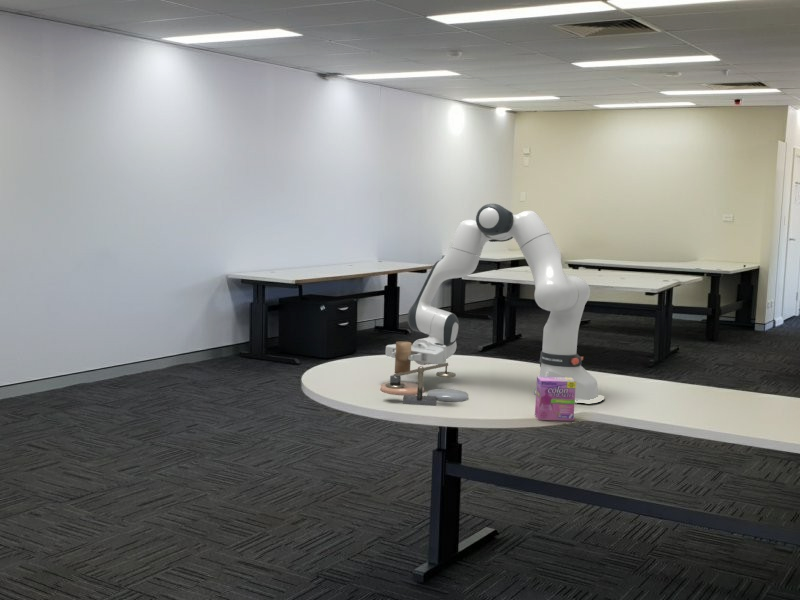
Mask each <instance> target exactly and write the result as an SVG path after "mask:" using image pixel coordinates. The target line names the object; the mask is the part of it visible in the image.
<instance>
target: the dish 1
mask: <svg viewBox="0 0 800 600" xmlns="http://www.w3.org/2000/svg"><path fill="white" fill-rule="evenodd" d="M386 383H387V382H385V383H383V384H380V391H381V392H383V393H385V394H389V395H395V396H396V395H398V396H404V395H417V388H418V383H413V382H407V381H406V382H405V381H400V383H402V384H405V388H401V389H392V388H387V387H385V384H386ZM424 389H425V388H424V386H423V393H424V391H425V390H424Z"/></svg>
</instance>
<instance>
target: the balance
mask: <svg viewBox="0 0 800 600" xmlns="http://www.w3.org/2000/svg"><path fill="white" fill-rule="evenodd" d="M448 366H449V362H446V363H443V364H439V365H438V364H433V365H431V366H426V367H424V366H423V365H420V366H418V367H417V368H416V369H410V371H406V372H401V373H393V374H392V375H390V376H389V382H385V383H386V384H385V387H387V388H392V389H401V388H405V384H402V383H400V382H402V380H401V378H402V376H405V375H406V376H407V375H410V374H415V373H416V374H417V384H418V388H417V394H416V395H403V396H402V397H403V399H402V404H403V405H420V406H421V405H422V406H424V405H425V406H437V405H436V403H437V400H436V396H427V395H423V393H424V392H423V387H424V373H425V371H430V370H436V369H439V368H440V369H441V368H444V367H445V371H438V372H436V373H435V376H436V377H439V378H456V375H457V373H456V372H452V371H448Z"/></svg>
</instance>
